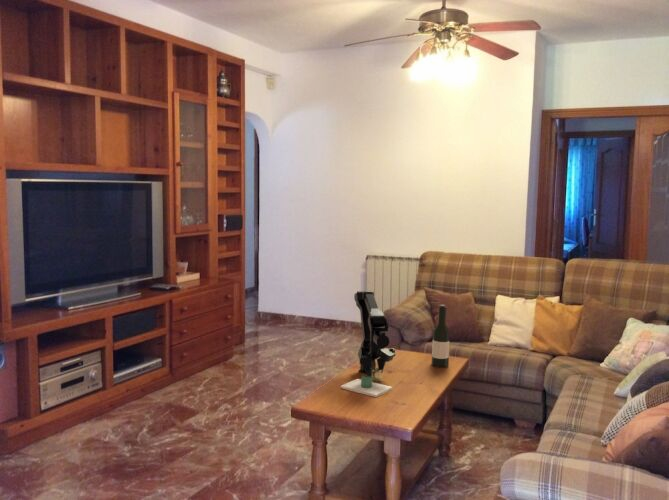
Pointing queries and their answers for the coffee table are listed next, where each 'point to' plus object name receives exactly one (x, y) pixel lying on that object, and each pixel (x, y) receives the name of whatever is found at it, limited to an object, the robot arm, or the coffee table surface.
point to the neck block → (366, 386)
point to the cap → (376, 375)
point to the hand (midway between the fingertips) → (375, 375)
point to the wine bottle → (441, 341)
